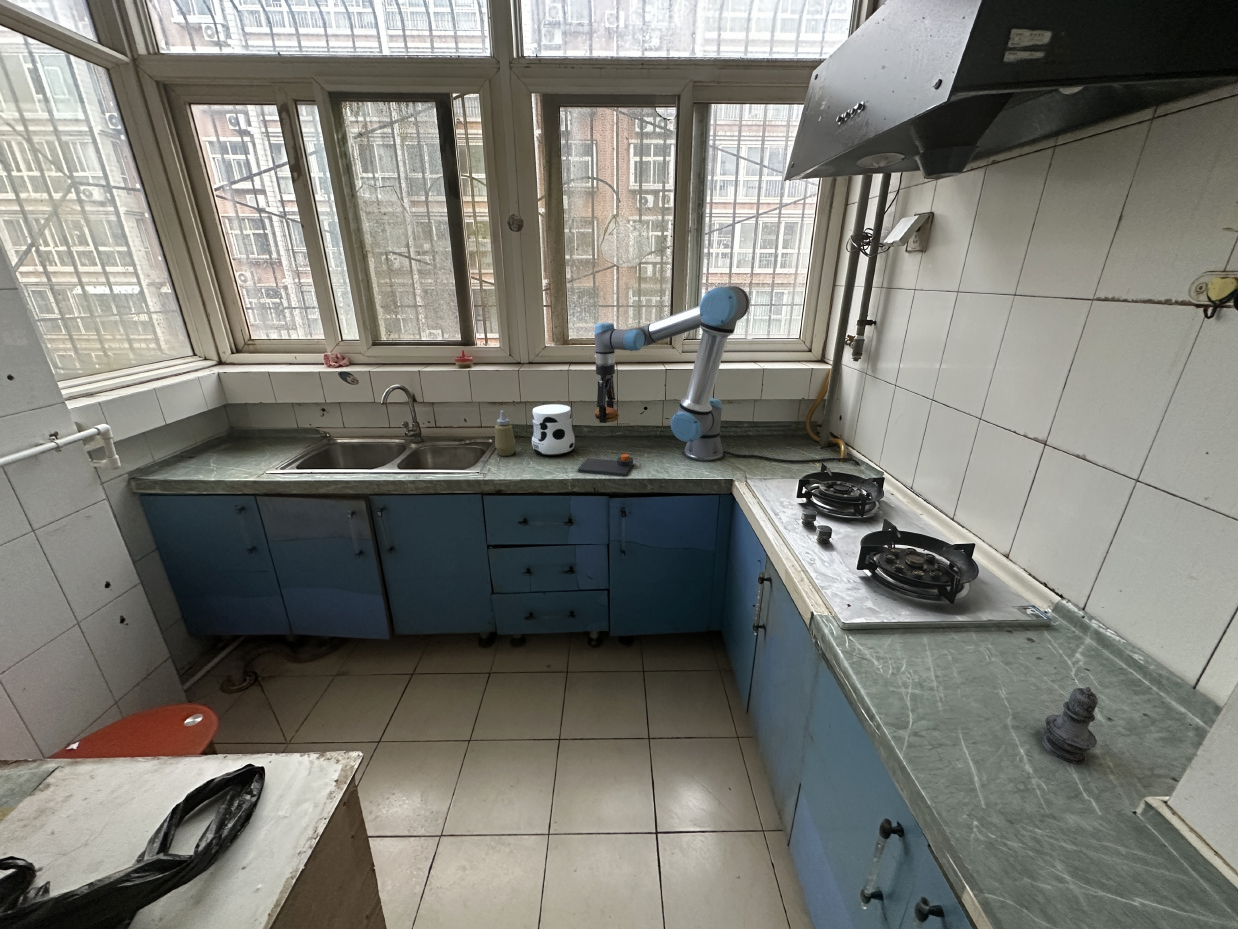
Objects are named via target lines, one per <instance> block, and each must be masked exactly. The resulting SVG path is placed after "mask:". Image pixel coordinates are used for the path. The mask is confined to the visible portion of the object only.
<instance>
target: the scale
mask: <svg viewBox="0 0 1238 929" xmlns="http://www.w3.org/2000/svg"><path fill="white" fill-rule="evenodd" d="M633 466H634V458H633V457H632V456H629V460H627V461H623V460H621V456H619V457H617V459H604V458H592V457H587V459H586V460H585V461H584V462H583V463H582V464H581V466H579V467H578V469H577V472H578V473H585V474H595V475H607V476H619V477H626V476H627V475H628V473H629V472H630V470H631V469H632V467H633Z"/></svg>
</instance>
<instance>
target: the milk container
mask: <svg viewBox="0 0 1238 929" xmlns="http://www.w3.org/2000/svg"><path fill="white" fill-rule="evenodd" d="M531 412H532V417H531V418H532V436H531V445H532V449H533V451H534V452H535V453H537V454H539V455H543V456H551V457H553V456H562V455H566V454H568V453H570V452H572V451H573V450H574V448H575V442H576V440H575V439H576V437H575V434H574V431H573V424H572V422H573V420H572V419H573V418H572V409H571V407H570V406H569V405H565V404H558V403H557V404H555V403H554V404H544V405H543V404H542V405H538V406H535V407H534V408H532V411H531Z"/></svg>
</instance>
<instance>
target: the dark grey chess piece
mask: <svg viewBox="0 0 1238 929" xmlns="http://www.w3.org/2000/svg"><path fill="white" fill-rule="evenodd" d="M1098 703H1099V699H1098V697H1097V695H1096V694H1095V693H1093V692H1092V688H1091V687H1090V686H1085V687H1075V688H1074V689H1072V691H1071V694H1070V695H1069V698H1068V700H1067V701H1065V702H1063V703H1062V707H1063V711H1062V714H1050V715H1047V716H1046V717H1045V720H1044V722H1045V727H1046V732H1045V733H1043V734H1042V735H1041V738H1040V740H1041V743H1042V745H1043V746H1044V748H1045V749H1046V751H1048V752H1050V753H1051V754H1052V755H1053V756H1055V757H1057V758H1058V759H1059V760H1062V761H1064V762H1067V763H1070V764H1076V765H1078V764H1079V765H1080V764H1084V763H1085V762H1086V761H1087V754H1086V752H1088V751H1090V750H1091V749H1093V748H1095V747H1096V746H1097V744H1098V740H1097V738H1096V735H1095V734H1094V733H1093V732H1092V730H1090V729H1089V726H1090V724H1091V723H1093V722H1095V720H1096V716H1095V714H1094V713H1095V710H1096V708H1097V706H1098Z"/></svg>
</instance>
